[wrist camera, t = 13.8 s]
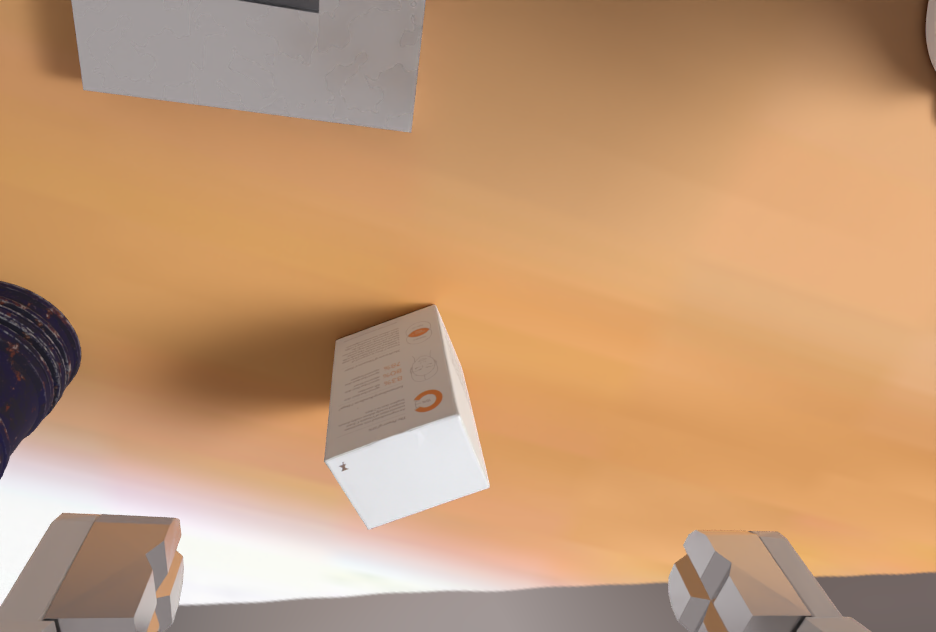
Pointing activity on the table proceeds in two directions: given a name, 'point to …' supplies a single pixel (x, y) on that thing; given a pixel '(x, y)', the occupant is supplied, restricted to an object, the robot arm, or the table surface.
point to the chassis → (259, 55)
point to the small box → (402, 420)
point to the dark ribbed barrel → (31, 363)
